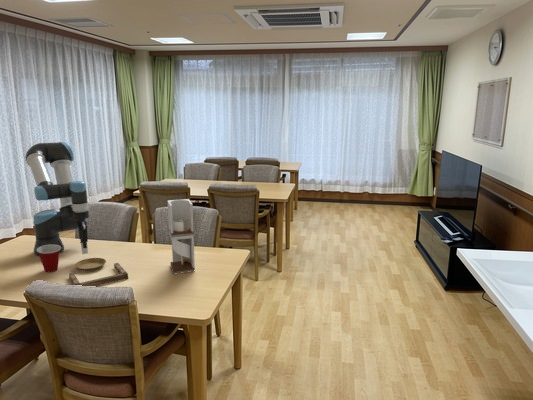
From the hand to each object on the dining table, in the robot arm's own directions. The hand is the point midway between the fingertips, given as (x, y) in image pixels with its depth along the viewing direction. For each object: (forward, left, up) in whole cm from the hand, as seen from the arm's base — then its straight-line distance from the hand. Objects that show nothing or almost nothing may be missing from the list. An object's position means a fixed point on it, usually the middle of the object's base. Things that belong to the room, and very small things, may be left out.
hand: (85, 253), depth 210 cm
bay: (+29, 0, -4) cm, 29 cm away
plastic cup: (+5, -17, -4) cm, 18 cm away
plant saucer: (+12, 0, -4) cm, 13 cm away
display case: (+40, +38, -4) cm, 55 cm away
